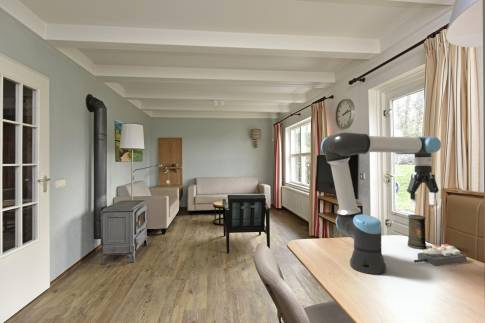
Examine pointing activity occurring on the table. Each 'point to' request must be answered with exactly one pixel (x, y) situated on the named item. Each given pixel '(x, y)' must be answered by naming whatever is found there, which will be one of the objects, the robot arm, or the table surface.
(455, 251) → the rocker
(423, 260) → the rocker switch panel
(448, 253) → the rocker
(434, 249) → the rocker
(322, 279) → the table surface
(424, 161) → the robot arm
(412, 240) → the container
